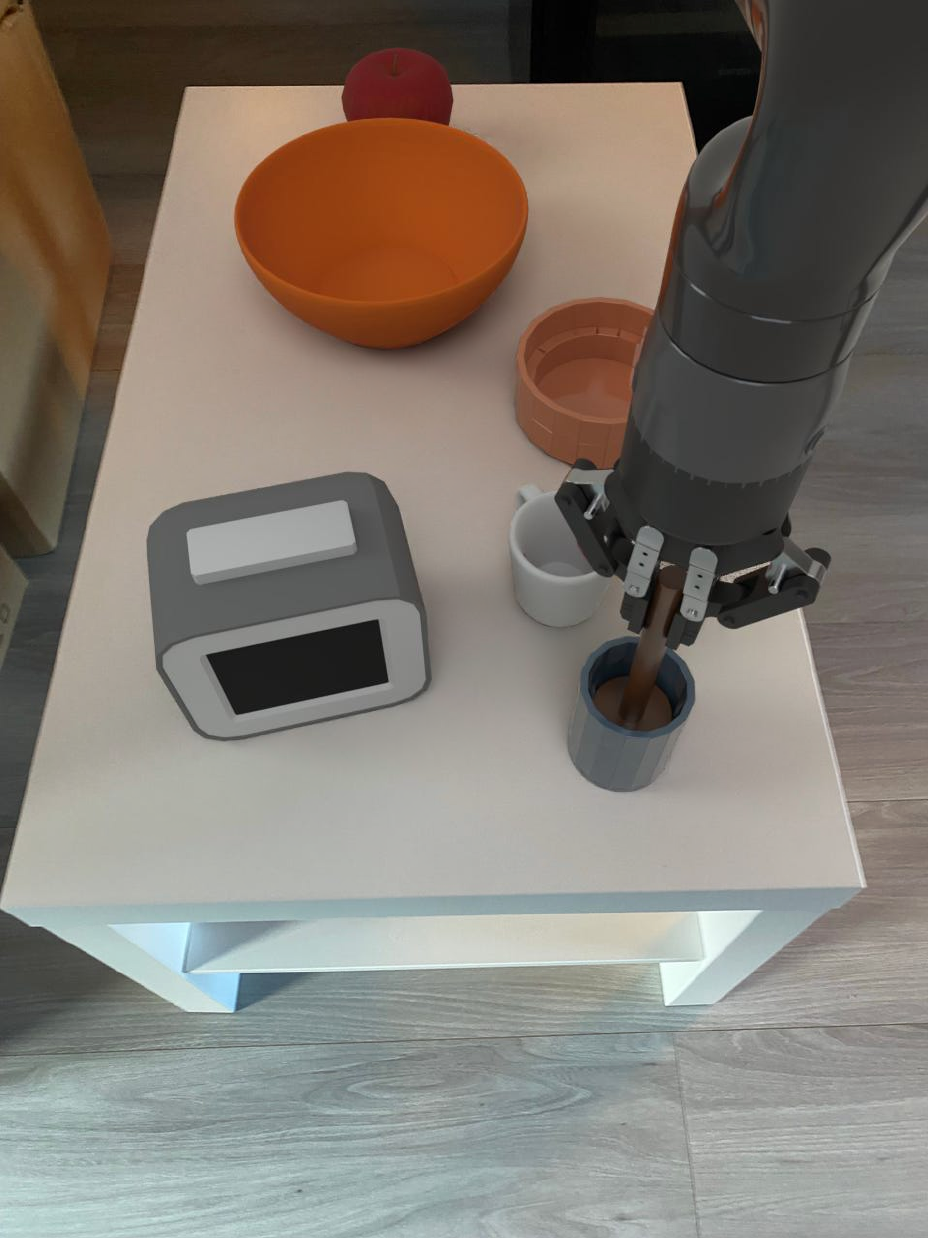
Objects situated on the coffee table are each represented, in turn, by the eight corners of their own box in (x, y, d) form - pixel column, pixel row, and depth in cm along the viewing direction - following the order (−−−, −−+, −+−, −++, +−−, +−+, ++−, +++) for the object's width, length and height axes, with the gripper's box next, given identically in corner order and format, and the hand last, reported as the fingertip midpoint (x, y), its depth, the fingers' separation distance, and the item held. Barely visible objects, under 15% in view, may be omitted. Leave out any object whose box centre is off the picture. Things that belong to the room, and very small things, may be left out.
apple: (447, 132, 103) (445, 18, 93) (461, 193, 97) (459, 79, 87) (346, 141, 102) (332, 27, 92) (354, 203, 97) (340, 89, 87)
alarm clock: (203, 747, 66) (135, 635, 53) (189, 612, 72) (124, 480, 58) (432, 697, 68) (423, 577, 55) (401, 570, 74) (385, 432, 60)
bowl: (493, 415, 82) (495, 324, 73) (217, 370, 85) (188, 278, 76) (545, 230, 94) (552, 134, 86) (303, 197, 97) (287, 101, 89)
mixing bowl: (703, 383, 83) (718, 330, 78) (641, 496, 77) (653, 447, 72) (557, 331, 87) (562, 277, 82) (486, 435, 81) (487, 384, 75)
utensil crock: (684, 725, 67) (711, 664, 59) (646, 810, 63) (669, 757, 56) (592, 683, 68) (607, 619, 61) (551, 764, 65) (561, 707, 57)
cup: (473, 546, 75) (473, 480, 68) (564, 513, 76) (573, 446, 69) (532, 656, 70) (539, 598, 63) (628, 619, 71) (645, 558, 64)
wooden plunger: (677, 711, 64) (740, 559, 48) (648, 776, 61) (704, 637, 46) (606, 680, 65) (645, 521, 50) (574, 742, 63) (605, 596, 47)
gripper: (928, 399, 37) (800, 625, 52) (606, 291, 41) (572, 532, 56) (876, 537, 34) (754, 736, 49) (529, 407, 37) (515, 630, 52)
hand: (657, 627), depth 52 cm, fingers closed on wooden plunger, 1 cm apart
